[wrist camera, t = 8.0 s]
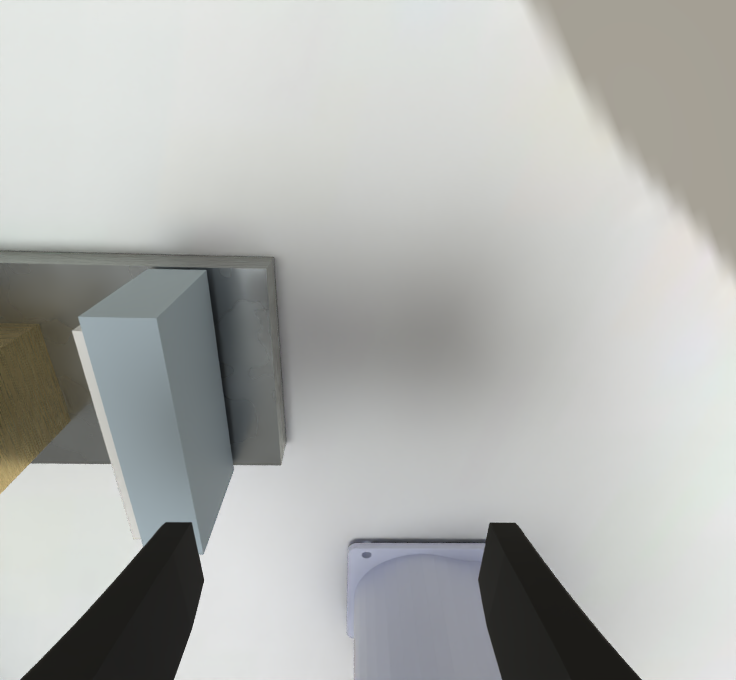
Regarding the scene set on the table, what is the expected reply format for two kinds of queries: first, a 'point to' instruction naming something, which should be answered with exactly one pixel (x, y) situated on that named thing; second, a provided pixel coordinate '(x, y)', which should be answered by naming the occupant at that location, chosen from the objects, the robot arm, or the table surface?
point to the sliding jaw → (160, 399)
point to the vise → (231, 323)
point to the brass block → (26, 399)
